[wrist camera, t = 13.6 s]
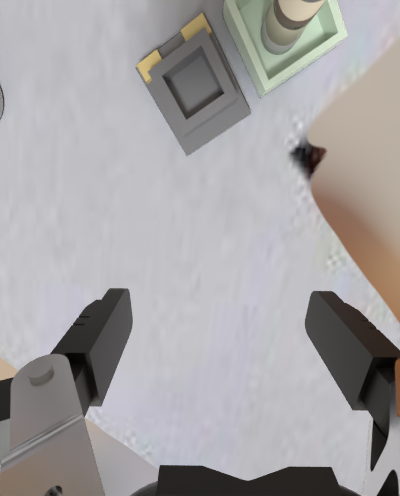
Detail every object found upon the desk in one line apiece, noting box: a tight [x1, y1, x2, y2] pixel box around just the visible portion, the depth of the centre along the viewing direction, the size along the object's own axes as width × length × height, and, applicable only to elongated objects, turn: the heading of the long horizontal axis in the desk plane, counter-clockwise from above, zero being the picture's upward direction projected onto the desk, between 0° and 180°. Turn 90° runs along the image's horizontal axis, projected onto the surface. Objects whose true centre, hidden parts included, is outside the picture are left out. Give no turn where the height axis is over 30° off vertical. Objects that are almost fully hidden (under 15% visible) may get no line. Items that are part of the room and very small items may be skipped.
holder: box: [136, 12, 251, 156], centre depth 29 cm, size 12×10×4 cm
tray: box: [223, 0, 348, 98], centre depth 26 cm, size 10×10×3 cm
